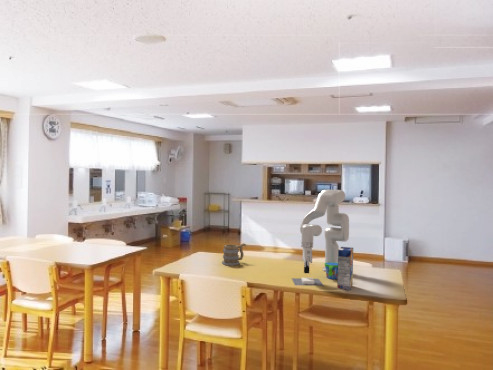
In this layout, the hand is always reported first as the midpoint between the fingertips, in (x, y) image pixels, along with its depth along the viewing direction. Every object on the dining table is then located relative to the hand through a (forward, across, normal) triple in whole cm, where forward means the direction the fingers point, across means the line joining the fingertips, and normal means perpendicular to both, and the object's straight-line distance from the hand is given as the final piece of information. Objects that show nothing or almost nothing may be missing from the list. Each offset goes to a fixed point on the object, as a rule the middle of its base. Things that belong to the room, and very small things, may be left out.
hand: (306, 272), depth 258 cm
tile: (+4, -1, 0) cm, 4 cm away
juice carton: (+6, -12, -22) cm, 26 cm away
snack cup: (+6, +10, -19) cm, 22 cm away
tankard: (+6, +52, +47) cm, 71 cm away
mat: (+6, -3, 0) cm, 6 cm away
